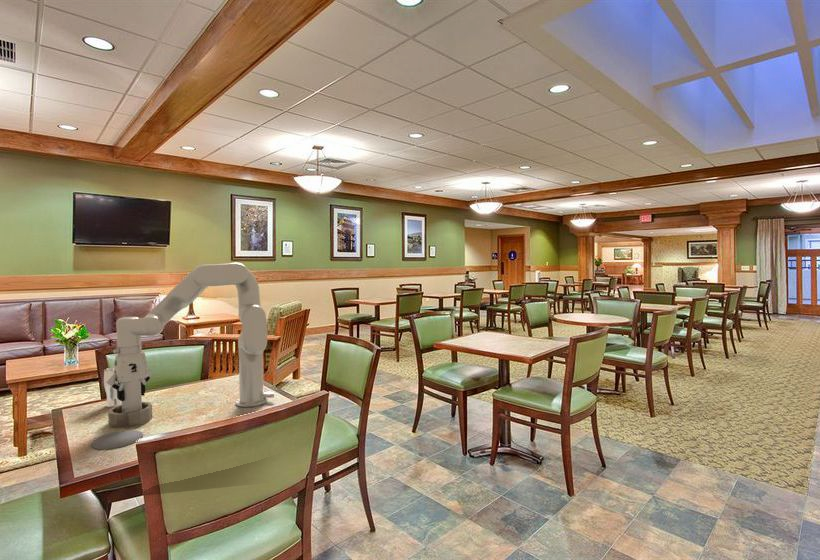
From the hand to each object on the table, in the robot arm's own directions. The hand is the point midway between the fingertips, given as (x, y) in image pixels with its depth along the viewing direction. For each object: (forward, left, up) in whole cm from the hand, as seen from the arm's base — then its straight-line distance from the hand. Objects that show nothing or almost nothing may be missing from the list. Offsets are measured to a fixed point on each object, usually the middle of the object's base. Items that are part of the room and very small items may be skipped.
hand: (131, 397), depth 159 cm
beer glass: (+14, -21, -9) cm, 27 cm away
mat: (-3, +18, -9) cm, 20 cm away
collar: (0, 0, -9) cm, 9 cm away
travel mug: (0, 0, -7) cm, 7 cm away
